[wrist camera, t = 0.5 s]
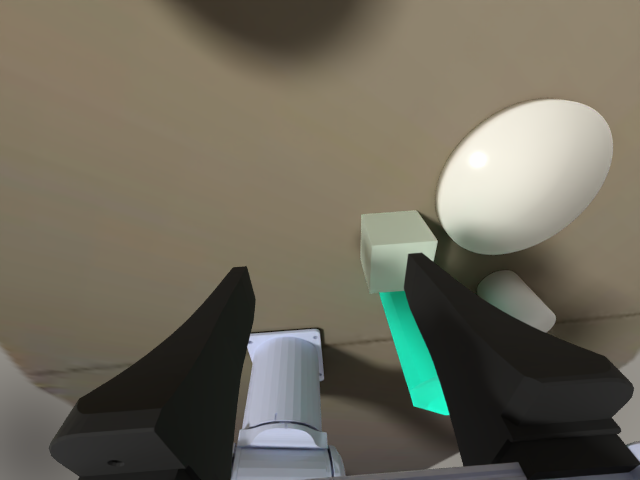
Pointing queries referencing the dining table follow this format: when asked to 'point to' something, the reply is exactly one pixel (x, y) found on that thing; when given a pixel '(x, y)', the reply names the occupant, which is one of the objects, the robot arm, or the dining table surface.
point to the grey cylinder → (516, 299)
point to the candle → (413, 354)
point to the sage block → (392, 247)
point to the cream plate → (523, 175)
